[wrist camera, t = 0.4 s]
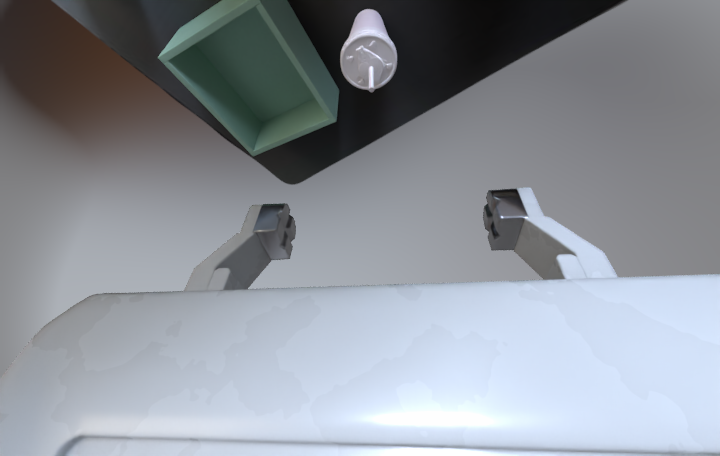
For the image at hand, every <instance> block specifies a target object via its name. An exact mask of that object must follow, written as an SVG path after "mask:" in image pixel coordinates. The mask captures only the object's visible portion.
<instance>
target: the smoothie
mask: <svg viewBox="0 0 720 456" xmlns="http://www.w3.org/2000/svg"><path fill="white" fill-rule="evenodd" d="M340 63H341V70H342V73H343V75H344V77H345V78H346V79H347V81H348V82H349V83H351V84H352V85H353V86H355V87H357V88H360V89H364V90H369V91H370V92H374V89H377V88H380V87H382V86H383V85H385V84H386V83H387V82H389V81H390V79H391V78H392V77H393V75H394V73H395V70H396V67H397V51H396V48H395V46H394V44H393V42H392V41H391V39H390V38H389V37H388V34H387V32H386V29H385V26H384V23H383V21H382V18H381V16H380V15H379V13H378V12H376V11H374V10H372V9H366V10H363V11H361V12H360V13H359V14H358V15H357V16H356V18H355V21H354V24H353V27H352V30H351V33H350V35H349V38H348V39H347V40H346V42H345V43H344V45H343V47H342V50H341V54H340Z"/></svg>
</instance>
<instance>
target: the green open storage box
mask: <svg viewBox="0 0 720 456" xmlns="http://www.w3.org/2000/svg"><path fill="white" fill-rule="evenodd" d="M158 59H159V60H160V61H161V62H162V63H164V65H165V66H166V67H167V68H168V69H169V70H170V71H171V72H172V73H173V74H174V75H175V76H176V77H177V78H178V79H179V80H180V81H181V82H182V83H183V84H184V85H185V86H186V88H187V89H188V90H189V91H190V92H191V93H192V94H193V95H194V96H195V97H196V98H197V99H198V100H199V101H200V102H201V103H202V104H203V105H204V106H205V107H206V108H207V109H208V110H209V111H210V112H211V113H212V114H213V115H214V116H215V118H216V119H217V120H218V121H219V122H220V123H221V124H222V125H223V126H224V127H225V128H226V129H227V130H228V131H229V132H230V133H231V134H232V135H233V136H234V137H235V138H236V139H237V140H238V141H239V142H240V143H241V144H242V145H243V146H244V148H245V149H246V150H247V151H248V152H249V153H250V154H251V155H252V156H255V155H258V154H260V153H262V152H265V151H267V150H269V149H272V148H274V147H277V146H279V145H281V144H284V143H286V142H289V141H291V140H293V139H296V138H298V137H300V136H303V135H305V134H308V133H310V132H312V131H315V130H317V129H320V128H322V127H324V126H327V125H329V124H331V123H334V122H336V121H337V110H338V99H339V89H338V87H337V85H336V84H335V82H334V80H333V79H332V77H331V75H330V73H329V72H328V70H327V68H326V66H325V65H324V63H323V61H322V60H321V58H320V56H319V54H318V53H317V51H316V49H315V47H314V46H313V44H312V42H311V41H310V39H309V37H308V35H307V34H306V32H305V30H304V28H303V27H302V25H301V23H300V21H299V20H298V18H297V16H296V15H295V13H294V11H293V9H292V8H291V6H290V4H289V2H288V1H287V0H222V1H220V2H218V3H217V4H215V5H214V6H212V7H211V8H209V9H208V10H206V11H205V12H203V13H202V14H200V15H199V16H197V17H196V18H194V19H193V20H191V21H190V22H188V23H187V24H185V25H184V26H182V27H181V28H179V30H178V31H177V32H176V34H175V35H174V36H173V38H172V39H171V40H170V42H169V43H168V44H167V46H166V47H165V48H164V50H163V51H162V52H161V54H160V55H159V56H158Z"/></svg>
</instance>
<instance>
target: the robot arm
mask: <svg viewBox="0 0 720 456" xmlns="http://www.w3.org/2000/svg"><path fill="white" fill-rule="evenodd" d="M486 199H487V202H488V204H487V205H486V206H485V207H484V212H483V213H484V215H483V216H484V217H483V218H484V225H485V229H486V230H488V231H489V235H488V239H489V243H490V246H491V250H514V252H516V253H517V254H518V255H519V256H520V257H521V258H522V259H523V260H524V261H525V262H526V263H527V264H528V265H529V266H530V267H531V268H532V269H533V270H535V271H536V272H537V273H538V274H539V275H540V276H541V277H542V278H543V279H544V280H523V281H491V282H458V283H429V284H427V283H426V284H397V285H396V284H394V285H363V286H333V287H301V288H300V287H299V288H268V289H248V287H249V286H250V285H251V284H252V283H253V281H254V280H255V279H256V278H257V277H258V276H259V275H260V273H261V272H262V271H263V270H264V269H265V268H266V266H267V265H268V264H269V263H270V262H271V260H280V259H290V255H291V251H292V247H293V246H292V244H291V241H292V240H293V239H295V234H296V226H295V221H294V218H293V217H292V216H290V215H289V213H290V209H289V206H288V205H287V204H263V205H252V206H251V207H250V208H249V211H248V213H247V216H246V219H245V221H244V224H243V227H242V229H241V232H240V233H237V234H236V235H234V236H233V237H232V238H230V239H229V240H228V241H227V242H226V243H224V244H223V245H222V246H221V247H220V248H218V249H217V250H216V251H215V252H213V253H212V254H211V255H210V256H209V257H207V258H206V259H205V260H204V261H203V262H202V263H200V264H199V265H198V266H197V267H196V268H194V270H193V273H192V275H191V277H190V279H189V281H188V283H187V285H186V287H185V290H184V291H175V292H174V291H173V292H144V293H104V294H95V295H92V296H89V297H87V298H85V299H84V300H82V301H80V302H79V303H77V304H76V305H74V306H73V307H71V308H70V309H68V310H67V311H65V312H64V313H62V314H61V315H59V316H58V317H57V318H55V319H53V320H52V321H51V322H49V323H48V324H47V325H45V326H44V327H43V328H42V329H41V330H40V331H39V332H38V333H37V334H36V335H35V336H34V337H33V338H32V339H31V341H30V342H29V343H28V344H27V345H26V346H25V348H24V349H23V350H22V351H21V352H20V354H19V355H18V357H17V358H16V359H15V360H14V361H13V363H12V364H11V365H10V366H9V368H8V369H7V370H6V372H5V373H4V374H3V375H2V377H1V378H0V456H720V274H710V275H683V276H682V275H681V276H648V277H617V275H616V273H615V271H614V270H613V268H612V266H611V264H610V263H609V261H608V259H607V257H606V255H605V254H604V252H602V251H601V250H600V249H598V248H596V247H595V246H593V245H592V244H590V243H589V242H587V241H586V240H584V239H582V238H581V237H579V236H578V235H576V234H575V233H573V232H572V231H570V230H568V229H567V228H565V227H564V226H562V225H560V224H559V223H558V222H556V221H554V220H553V219H551V218H550V217H544V215H543V213H542V211H541V208H540V206H539V204H538V202H537V200H536V198H535V196H534V193H533V191H532V189H531V188H529V187H527V188H516V189H502V190H489V191H488V193H487V197H486Z"/></svg>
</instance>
